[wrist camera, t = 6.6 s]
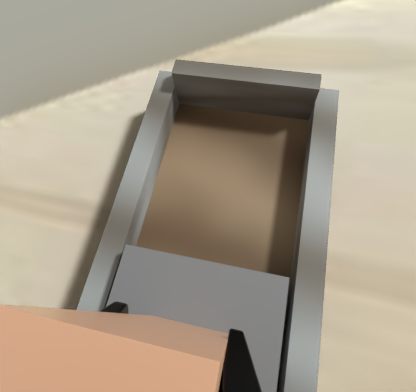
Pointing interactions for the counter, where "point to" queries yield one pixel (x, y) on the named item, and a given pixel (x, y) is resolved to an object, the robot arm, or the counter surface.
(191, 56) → the counter surface
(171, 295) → the carriage
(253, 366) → the robot arm
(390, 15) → the counter surface
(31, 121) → the counter surface
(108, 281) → the rail
